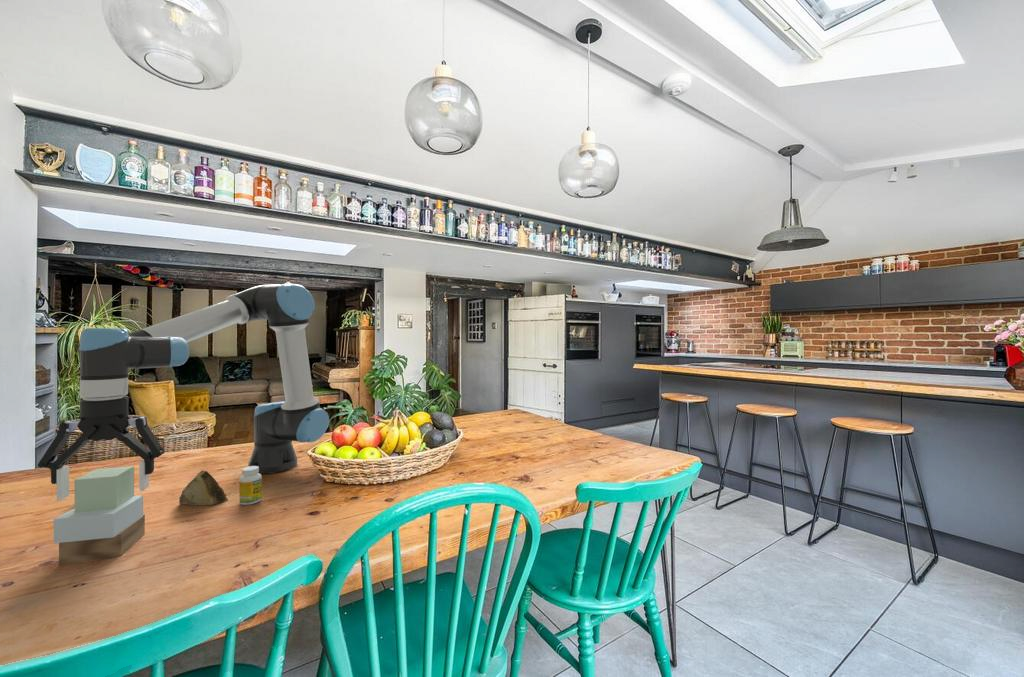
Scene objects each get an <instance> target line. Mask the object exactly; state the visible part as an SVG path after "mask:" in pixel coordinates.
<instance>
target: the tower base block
mask: <svg viewBox="0 0 1024 677" xmlns="http://www.w3.org/2000/svg"><path fill="white" fill-rule="evenodd" d="M145 520H146V516H145V514H143V517H142V518H140V519H139V520H138V521H136V522H135V523H133V524H132V525H131V526H129V527H128V528H126V529H125V530H123V531H122V532H121V533H119V534H118V535H116V536H115V537H112V538H102V539H92V540H82V541H73V542H63V543H58V566H65V565H72V564H78V563H77V562H79V563H85V562H84V561H86V562H91V560H93V561H98V560H107V559H112V558H119V557H122V556H124V554H125V553H126V552H127V551H129V550H130V549H131V548H132V547H133V546H134V545H135V544H137V542H139V540H140V539H142V538H143V537H144V536H145V532H146V529H145V524H146V521H145Z"/></svg>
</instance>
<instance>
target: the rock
mask: <svg viewBox="0 0 1024 677" xmlns="http://www.w3.org/2000/svg"><path fill="white" fill-rule="evenodd" d="M226 501H228V497H227V495H226V493H225V490H224V489H223V488H222V487H221V486H220V484H219V483H218V482H217V480H216V478H214V476H212V474H210V472H208V471H207V470H204V469H202V470H201V471H199V472H198V473H196V476H195V477H194V478H193V479H192V480H191V481H189V483H187V485H186V486H185V488H183V489H182V491H181V494H180V496H179V500H178V503H179V504H180V505H189V506H190V505H191V506H194V505H195V506H211V505H212V506H213V505H217V504H220V503H224V502H226Z"/></svg>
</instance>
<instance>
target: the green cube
mask: <svg viewBox="0 0 1024 677" xmlns="http://www.w3.org/2000/svg"><path fill="white" fill-rule="evenodd" d="M73 488H74V508H75V513H77V512H86V511H95V510H104V509H114V508H118V507H119V506H121V505H122V504H123V503H125V502H126V501H128V500H129V499H130V498H132V497H133V496H135V465H131V466H120V467H108V468H107V467H106V468H96V469H93V470H90V472H87V473H86V474H83V475H81V476H79V477H77V478H75V479H74V487H73Z"/></svg>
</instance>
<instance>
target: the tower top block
mask: <svg viewBox="0 0 1024 677" xmlns="http://www.w3.org/2000/svg"><path fill="white" fill-rule="evenodd" d="M143 515H144V495H134V496H133V497H132V498H130V499H129V500H128V501H126V502H125V503H123V504H122V505H121V506H119V507H118V508H114V509H104V510H95V511H86V512H77V513H75V507H74V508H72V509H70V510H67V512H65V513H63V514H60V515H59V516H57V517H55V518H53V544H59V543H63V542H73V541H82V540H92V539H102V538H112V537H115V536H116V535H118V534H119V533H121V532H122V531H123V530H125V529H126V528H128V527H129V526H131V525H132V524H133V523H135V522H136V521H138V520H139V519H140V518H142V517H143Z"/></svg>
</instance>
